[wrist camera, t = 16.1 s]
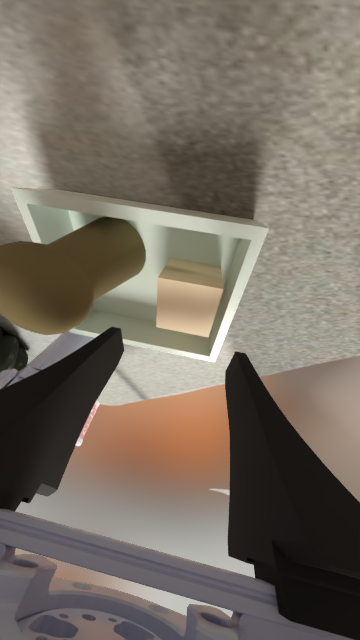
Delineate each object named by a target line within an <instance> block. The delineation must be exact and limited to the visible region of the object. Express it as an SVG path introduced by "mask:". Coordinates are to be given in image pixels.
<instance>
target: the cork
mask: <svg viewBox="0 0 360 640" xmlns="http://www.w3.org/2000/svg"><path fill="white" fill-rule="evenodd" d="M145 261H146V250H145V246H144V243H143V240H142V238H141V237H140V235H139V233H138V232H137V230H136V229H135V228H134V227H133V226H132V225H131V224H130V223H129V222H127V221H125V220H123V219H119V218H113V217H107V216H104V217H101V218H98V219H96V220H94V221H92V222H90V223H89V224H87V225H85V226H83V227H81V228H79V229H77V230H75V231H73V232H71V233H69V234H67V235H65V236H63V237H61V238H59V239H57V240H55V241H53V242H51V243H50V244H48V245H46V244H41V243H35V242H22V241H20V242H15V243H10V244H6V245H2V246H0V314H1V315H2V316H3V317H5V318H6V319H7V320H9V321H10V322H12V323H14V324H16V325H17V326H19V327H21V328H24V329H26V330H29V331H31V332H35V333H39V334H44V335H51V334H59V333H64V332H66V331H68V330H70V329H72V328H74V327H76V326H78V325H79V324H80V323H81V322H83V321H84V320H85V318H86V317H87V315H88V314H89V312H90V310H91V308H92V307H93V301H94V300H95V299H97V298H99V297H100V296H102V295H104V294H105V293H107V292H109V291H111V290H112V289H114V288H116V287H117V286H119V285H121V284H122V283H124V282H126V281H127V280H129V279H131V278H132V277H134V276H136V275H138V274H139V273H140V272H141V270H142V269H143V268H144V264H145Z"/></svg>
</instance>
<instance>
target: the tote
mask: <svg viewBox="0 0 360 640" xmlns="http://www.w3.org/2000/svg"><path fill="white" fill-rule="evenodd" d="M10 188H11V190H12V193H13V195H14V198H15V200H16V203H17V205H18V207H19V210H20V212H21V215H22V217H23V220H24V222H25V224H26V227H27V229H28V232H29V234H30V237H31V239H32V242H35V243H41V244H46V245H48V244H50V243H51V242H53V241H55V240H57V239H59V238H61V237H63V236H65V235H67V234H69V233H71V232H73V231H75V230H77V229H79V228H81V227H83V226H85V225H87V224H89V223H90V222H92V221H94V220H96V219H98V218H101V217H104V216H107V217H113V218H119V219H123V220H125V221H127V222H129V223H130V224H131V225H132V226H133V227H134V228H135V229H136V230H137V232H138V233H139V235H140V237H141V238H142V240H143V243H144V246H145V250H146V261H145V264H144V268H143V269H142V270H141V272H140V273H139V274H138V275H136V276H134V277H132V278H131V279H129V280H127V281H126V282H124V283H122V284H121V285H119V286H117V287H116V288H114V289H112V290H111V291H109V292H107V293H105V294H104V295H102V296H100V297H99V298H97V299H95V300H94V301H93V307H92V308H91V310H90V312H89V314H88V315H87V317H86V318H85V320H84V321H83V322H81V323H80V324H79V325H78V326H76V327H74V328H72V329H70V330H69V332H70V333H75V334H80V335H84V336H89V337H94V338H96V337H97V336H98V335H100V334H101V333H103V332H104V331H106V330H107V329H109V328H110V327H116V328H121V332H122V339H123V344H128V345H133V346H137V347H142V348H147V349H152V350H157V351H162V352H166V353H171V354H176V355H181V356H186V357H191V358H195V359H200V360H205V361H210V362H215V361H216V359H217V356H218V354H219V351H220V349H221V346H222V344H223V341H224V339H225V336H226V334H227V331H228V329H229V326H230V324H231V322H232V319H233V317H234V314H235V312H236V309H237V307H238V304H239V302H240V299H241V297H242V294H243V292H244V289H245V287H246V284H247V282H248V279H249V277H250V274H251V272H252V270H253V267H254V265H255V262H256V260H257V257H258V255H259V252H260V250H261V247H262V245H263V242H264V240H265V237H266V235H267V232H268V230H269V228H268V227H266V226H264V225H262V224H260V223H259V222H257V221H255V220H252V219H246V218H240V217H233V216H227V215H220V214H214V213H207V212H201V211H195V210H188V209H182V208H175V207H169V206H163V205H156V204H150V203H143V202H137V201H130V200H124V199H118V198H111V197H105V196H98V195H92V194H86V193H79V192H73V191H66V190H53V189H32V188H12V187H10ZM171 258H174V259H180V260H186V261H192V262H198V263H203V264H209V265H215V266H221V272H222V281H223V292H222V296H221V299H220V302H219V305H218V308H217V312H216V315H215V318H214V321H213V324H212V328H211V331H210V334H209V337H204V336H199V335H194V334H189V333H183V332H178V331H173V330H168V329H163V328H158V327H156V317H157V287H158V276H159V275H160V273H161V272H162V271H163V269H164V268H165V266H166V265H167V263H168V262H169V260H170V259H171Z"/></svg>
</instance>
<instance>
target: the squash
mask: <svg viewBox="0 0 360 640" xmlns="http://www.w3.org/2000/svg"><path fill="white" fill-rule="evenodd" d="M27 362H28V354H27V353H26V351H25V350H24V349H23V348H22V347H21V346H19V341H18V340H17V338H15V337H14V336H11V335H3V330H2V329H1V328H0V372H2V371H3V370H11V369H16V370H17V371H18V372H19V371H20V370H22V369H24V368H25V367H26V366H27Z"/></svg>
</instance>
